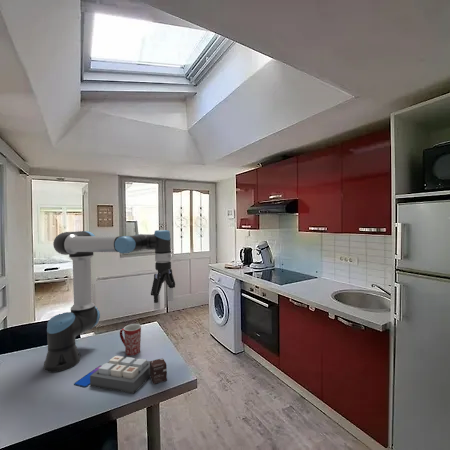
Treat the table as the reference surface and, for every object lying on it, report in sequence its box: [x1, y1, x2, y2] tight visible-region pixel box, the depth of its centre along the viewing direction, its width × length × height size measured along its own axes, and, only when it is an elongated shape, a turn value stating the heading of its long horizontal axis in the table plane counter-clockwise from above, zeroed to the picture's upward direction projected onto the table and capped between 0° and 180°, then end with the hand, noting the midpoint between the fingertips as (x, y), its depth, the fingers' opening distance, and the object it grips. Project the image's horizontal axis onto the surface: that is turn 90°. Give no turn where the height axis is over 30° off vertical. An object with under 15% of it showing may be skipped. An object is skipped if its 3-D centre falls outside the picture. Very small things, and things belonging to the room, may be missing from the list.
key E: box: [132, 358, 148, 372], centre depth 117 cm, size 4×4×3 cm
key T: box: [111, 365, 126, 377], centre depth 112 cm, size 4×4×3 cm
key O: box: [99, 362, 115, 375], centre depth 114 cm, size 4×4×3 cm
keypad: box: [89, 357, 151, 395], centre depth 116 cm, size 21×16×4 cm
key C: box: [123, 366, 139, 379], centre depth 111 cm, size 4×4×3 cm
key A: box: [108, 355, 125, 366], centre depth 120 cm, size 4×4×3 cm
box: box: [149, 357, 168, 385], centre depth 115 cm, size 6×6×7 cm
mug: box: [119, 323, 142, 357], centre depth 140 cm, size 13×9×14 cm
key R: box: [121, 356, 136, 369], centre depth 119 cm, size 4×4×3 cm
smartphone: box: [73, 365, 102, 388], centre depth 118 cm, size 7×1×15 cm
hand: (164, 304), depth 129 cm, fingers open, 13 cm apart
